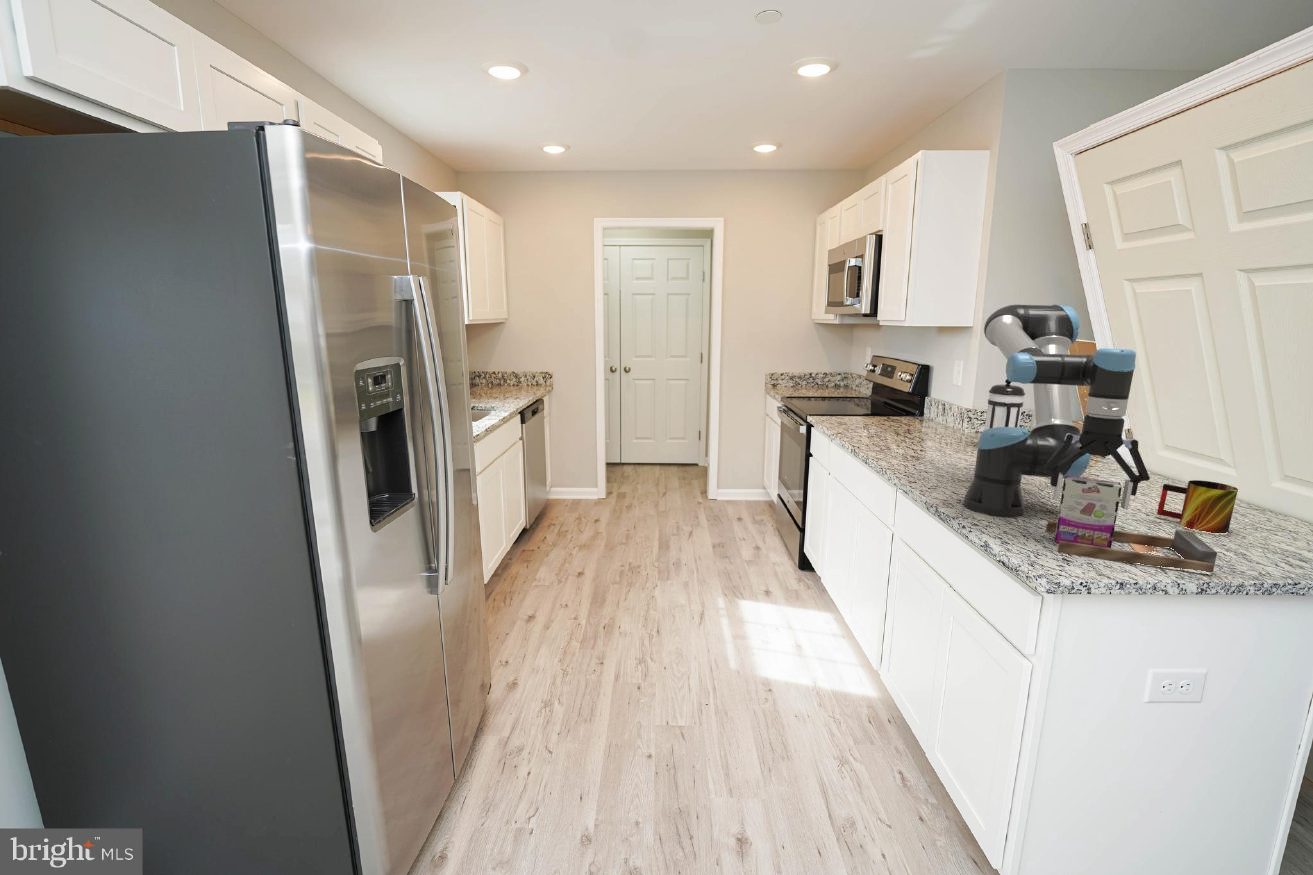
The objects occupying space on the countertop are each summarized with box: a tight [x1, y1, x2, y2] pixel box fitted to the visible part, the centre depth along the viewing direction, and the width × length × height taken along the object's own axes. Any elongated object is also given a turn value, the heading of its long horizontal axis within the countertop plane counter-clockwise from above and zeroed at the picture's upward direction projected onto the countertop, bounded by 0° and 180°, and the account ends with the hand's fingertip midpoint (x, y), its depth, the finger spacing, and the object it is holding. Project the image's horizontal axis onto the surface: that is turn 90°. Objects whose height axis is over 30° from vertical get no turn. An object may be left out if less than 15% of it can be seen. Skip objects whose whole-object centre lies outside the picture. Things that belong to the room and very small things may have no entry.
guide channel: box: [1046, 520, 1218, 573], centre depth 140 cm, size 28×16×5 cm, turn 66°
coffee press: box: [984, 378, 1026, 430], centre depth 241 cm, size 17×16×30 cm
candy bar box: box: [1054, 475, 1123, 548], centre depth 142 cm, size 11×5×16 cm, turn 56°
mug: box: [1156, 479, 1239, 533], centre depth 158 cm, size 10×14×12 cm
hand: (1089, 504), depth 142 cm, fingers open, 13 cm apart
